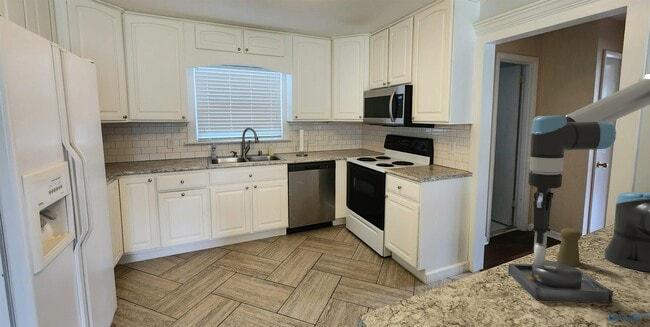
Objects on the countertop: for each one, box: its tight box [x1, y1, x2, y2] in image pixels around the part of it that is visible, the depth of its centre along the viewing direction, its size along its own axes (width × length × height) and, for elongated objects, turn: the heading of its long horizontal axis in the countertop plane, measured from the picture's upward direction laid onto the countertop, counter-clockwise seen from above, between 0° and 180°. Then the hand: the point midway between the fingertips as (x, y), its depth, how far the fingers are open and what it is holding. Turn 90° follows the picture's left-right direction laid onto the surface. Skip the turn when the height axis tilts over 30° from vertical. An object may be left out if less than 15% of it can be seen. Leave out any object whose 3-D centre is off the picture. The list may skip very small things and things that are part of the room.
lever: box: [532, 244, 582, 289], centre depth 86 cm, size 11×11×9 cm
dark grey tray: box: [507, 263, 614, 304], centre depth 87 cm, size 18×15×3 cm
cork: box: [556, 227, 582, 267], centre depth 102 cm, size 6×6×11 cm
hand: (539, 252), depth 89 cm, fingers closed
